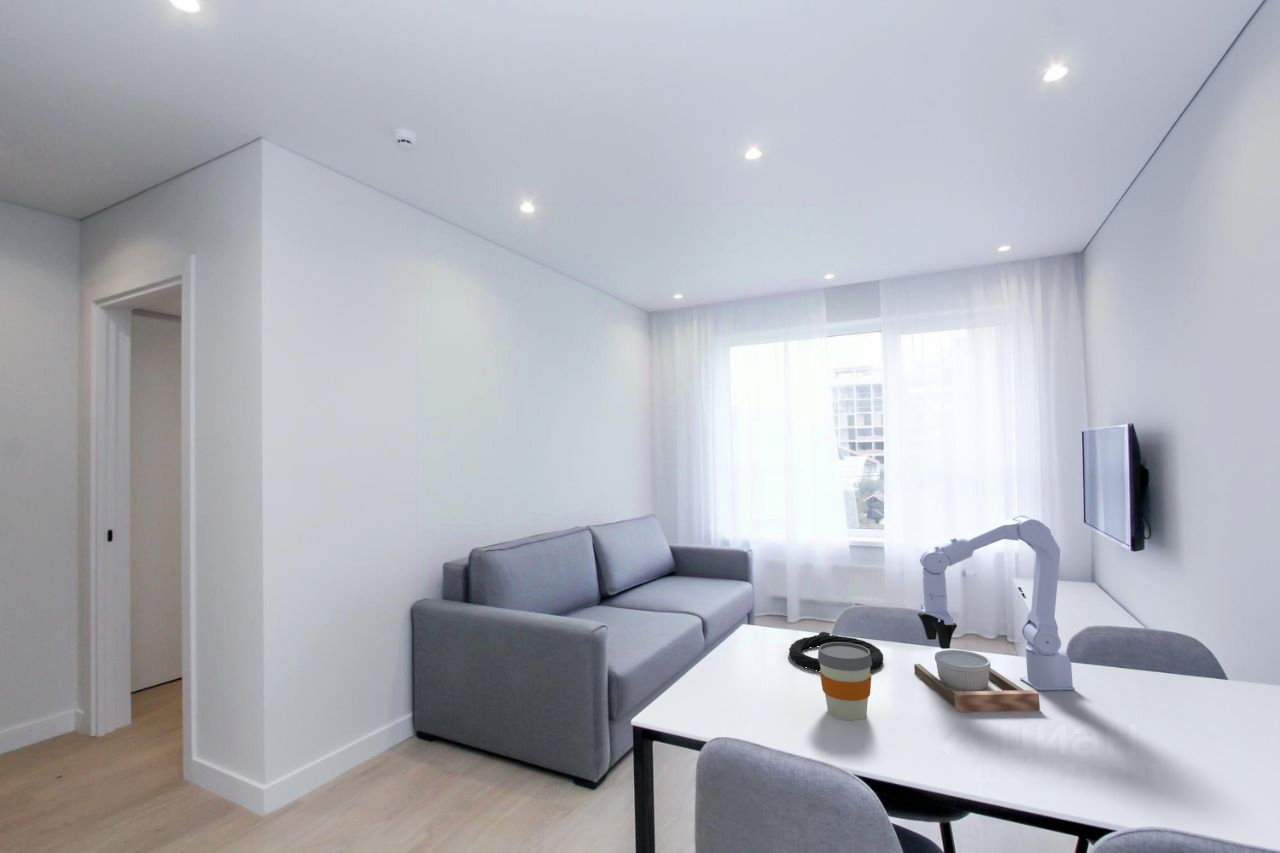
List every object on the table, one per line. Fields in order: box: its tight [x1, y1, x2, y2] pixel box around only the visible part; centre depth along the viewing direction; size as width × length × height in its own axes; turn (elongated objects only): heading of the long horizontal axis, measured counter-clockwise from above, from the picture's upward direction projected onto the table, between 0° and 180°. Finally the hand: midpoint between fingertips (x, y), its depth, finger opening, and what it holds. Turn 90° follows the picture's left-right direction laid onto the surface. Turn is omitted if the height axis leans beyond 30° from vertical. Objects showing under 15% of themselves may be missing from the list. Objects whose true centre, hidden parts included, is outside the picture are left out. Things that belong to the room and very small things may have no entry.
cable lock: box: [788, 631, 884, 673], centre depth 181 cm, size 28×4×30 cm
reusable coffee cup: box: [817, 642, 872, 722], centre depth 144 cm, size 12×13×15 cm
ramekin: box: [934, 649, 991, 692], centre depth 158 cm, size 13×13×7 cm
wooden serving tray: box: [913, 663, 1041, 713], centre depth 153 cm, size 19×25×4 cm
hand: (938, 643), depth 163 cm, fingers open, 7 cm apart
